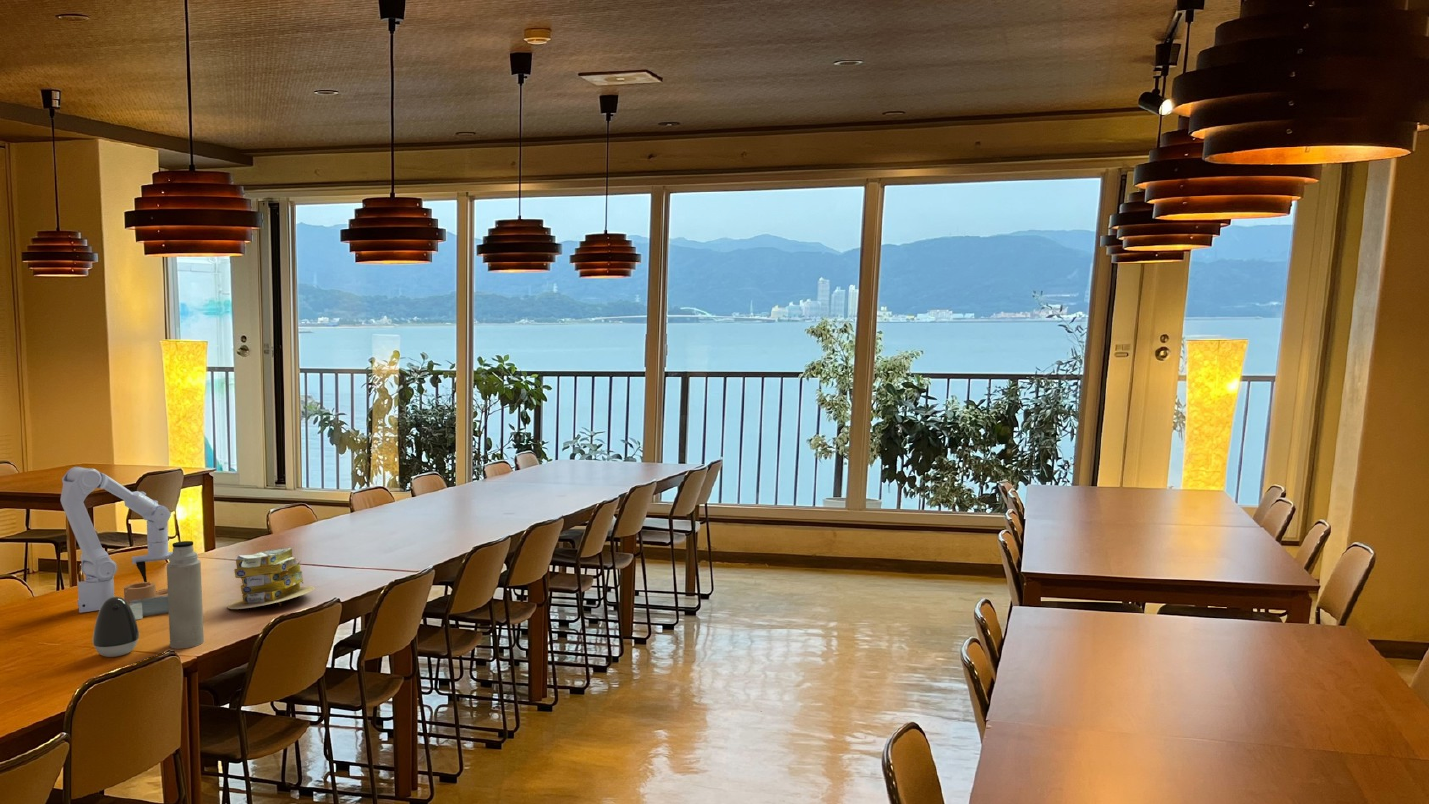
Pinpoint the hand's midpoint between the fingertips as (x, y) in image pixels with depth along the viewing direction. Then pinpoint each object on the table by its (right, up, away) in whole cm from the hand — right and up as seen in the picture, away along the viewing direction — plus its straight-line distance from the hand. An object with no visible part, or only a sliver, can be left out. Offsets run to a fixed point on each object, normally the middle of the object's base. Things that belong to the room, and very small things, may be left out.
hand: (159, 582), depth 300 cm
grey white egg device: (+23, -8, -58) cm, 63 cm away
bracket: (+5, -5, -10) cm, 12 cm away
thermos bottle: (+37, -7, -50) cm, 63 cm away
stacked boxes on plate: (+41, -5, -10) cm, 43 cm away
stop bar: (+15, -5, -22) cm, 27 cm away
